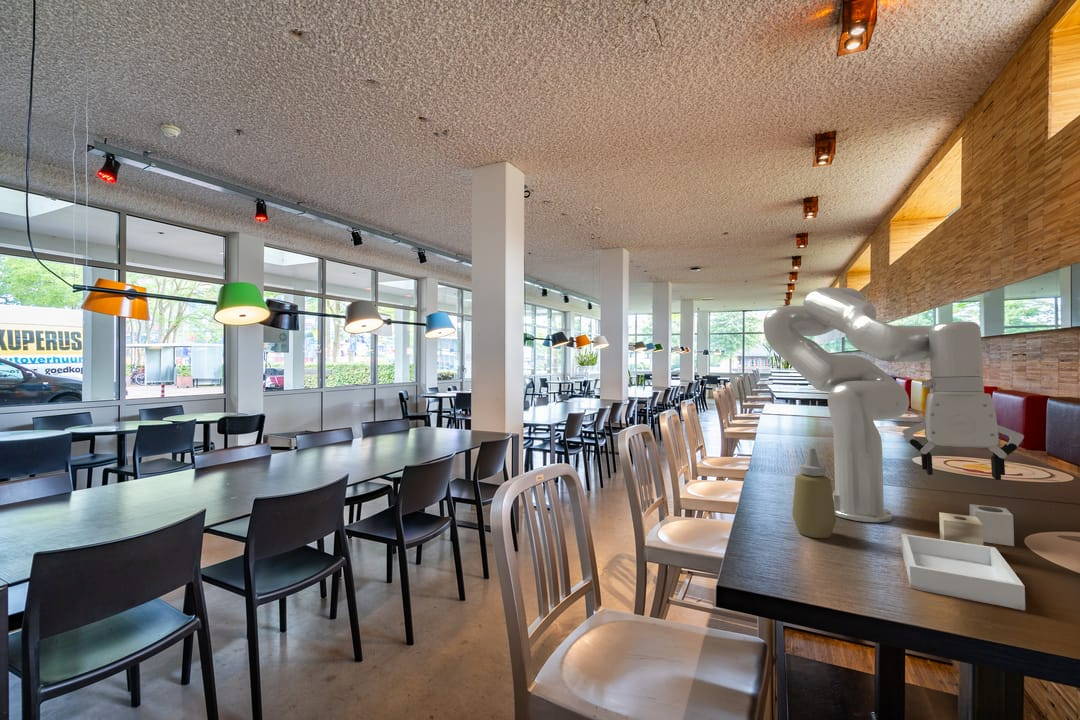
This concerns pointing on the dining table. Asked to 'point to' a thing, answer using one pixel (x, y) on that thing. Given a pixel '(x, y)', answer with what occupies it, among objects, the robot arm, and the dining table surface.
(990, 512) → the grey block
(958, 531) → the ash block
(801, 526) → the squeeze bottle
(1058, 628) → the dining table surface
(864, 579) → the dining table surface
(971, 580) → the tray
